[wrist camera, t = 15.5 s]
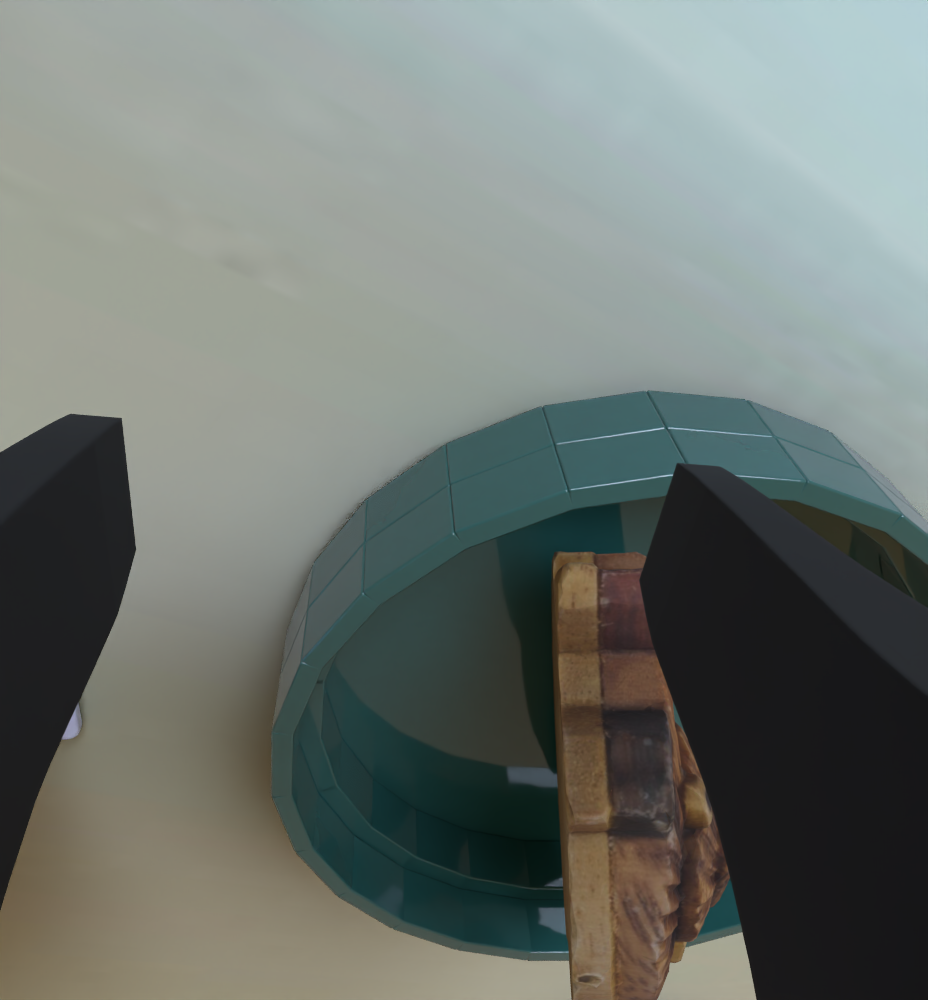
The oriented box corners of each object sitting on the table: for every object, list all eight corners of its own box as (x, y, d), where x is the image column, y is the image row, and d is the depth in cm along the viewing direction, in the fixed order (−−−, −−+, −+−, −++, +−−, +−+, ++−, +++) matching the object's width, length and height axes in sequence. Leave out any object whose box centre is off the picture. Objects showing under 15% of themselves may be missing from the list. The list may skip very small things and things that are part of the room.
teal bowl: (284, 843, 32) (269, 962, 28) (294, 348, 21) (272, 438, 17) (786, 851, 35) (832, 960, 31) (1041, 418, 23) (1162, 508, 20)
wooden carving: (661, 804, 32) (756, 1111, 23) (543, 823, 32) (595, 1134, 23) (642, 436, 22) (788, 731, 14) (475, 467, 22) (521, 775, 14)
